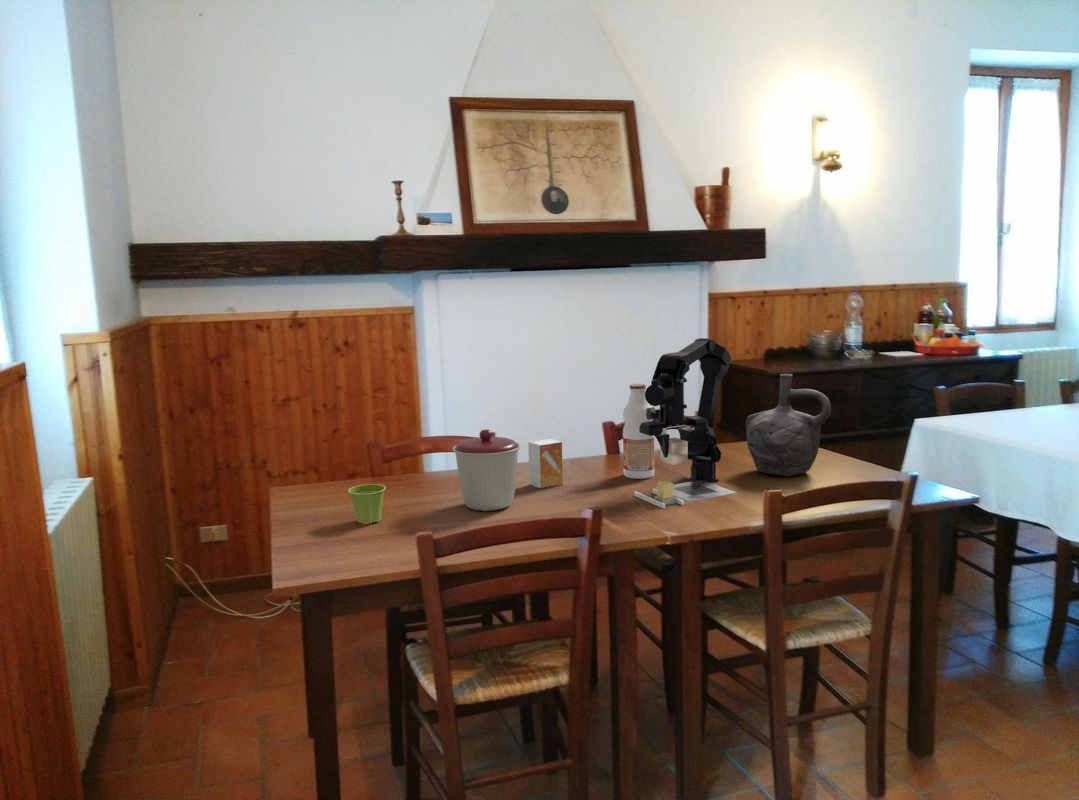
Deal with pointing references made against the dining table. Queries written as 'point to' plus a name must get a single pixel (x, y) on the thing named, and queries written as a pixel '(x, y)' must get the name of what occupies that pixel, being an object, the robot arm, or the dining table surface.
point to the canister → (487, 471)
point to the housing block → (676, 452)
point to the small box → (545, 463)
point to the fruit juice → (637, 436)
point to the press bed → (699, 490)
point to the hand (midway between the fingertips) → (673, 456)
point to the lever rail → (656, 500)
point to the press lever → (665, 493)
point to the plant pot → (367, 502)
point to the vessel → (786, 433)
